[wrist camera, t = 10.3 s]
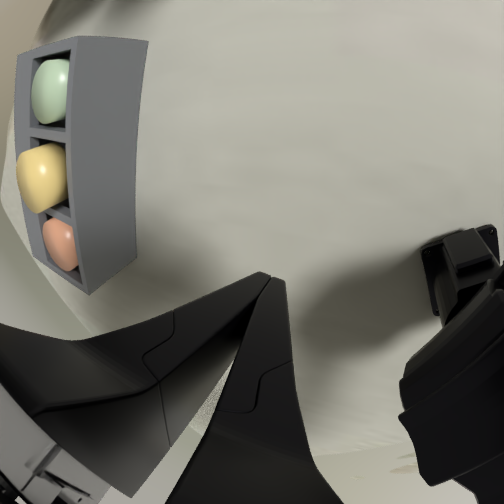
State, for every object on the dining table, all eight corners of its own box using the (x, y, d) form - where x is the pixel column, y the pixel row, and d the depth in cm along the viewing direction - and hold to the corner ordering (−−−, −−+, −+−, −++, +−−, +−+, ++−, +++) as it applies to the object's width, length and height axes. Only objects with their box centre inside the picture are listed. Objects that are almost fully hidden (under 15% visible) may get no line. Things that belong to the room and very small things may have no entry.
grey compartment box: (148, 40, 18) (78, 35, 12) (136, 257, 30) (89, 295, 24) (76, 50, 21) (17, 55, 15) (77, 228, 33) (33, 256, 26)
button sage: (96, 55, 16) (65, 56, 13) (90, 118, 18) (60, 125, 16) (61, 60, 17) (33, 63, 14) (57, 115, 20) (30, 122, 17)
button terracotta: (93, 216, 23) (68, 230, 21) (98, 263, 26) (77, 279, 24) (61, 202, 24) (39, 214, 22) (68, 246, 27) (48, 259, 25)
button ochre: (72, 145, 18) (40, 156, 15) (75, 206, 21) (48, 220, 18) (41, 139, 19) (13, 148, 17) (45, 192, 22) (20, 205, 19)
